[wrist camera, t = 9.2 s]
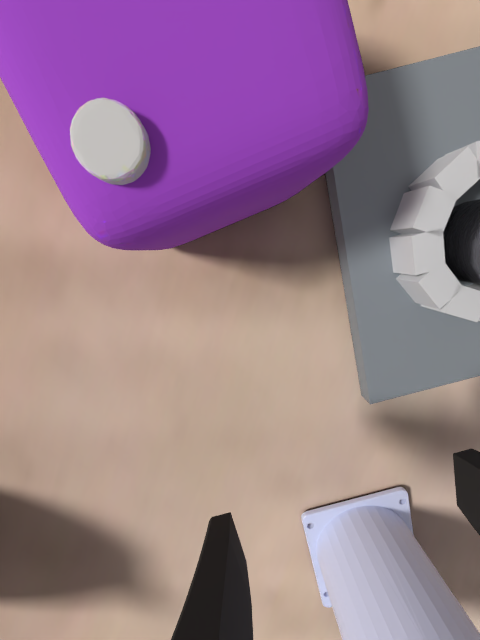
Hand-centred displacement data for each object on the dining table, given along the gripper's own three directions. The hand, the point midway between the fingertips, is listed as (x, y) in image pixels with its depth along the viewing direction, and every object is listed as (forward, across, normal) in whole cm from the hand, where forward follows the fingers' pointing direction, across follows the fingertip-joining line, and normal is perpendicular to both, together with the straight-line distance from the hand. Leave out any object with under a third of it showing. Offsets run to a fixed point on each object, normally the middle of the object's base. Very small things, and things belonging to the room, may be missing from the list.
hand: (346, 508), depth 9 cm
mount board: (+10, -12, -6) cm, 17 cm away
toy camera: (+11, +2, -16) cm, 19 cm away
